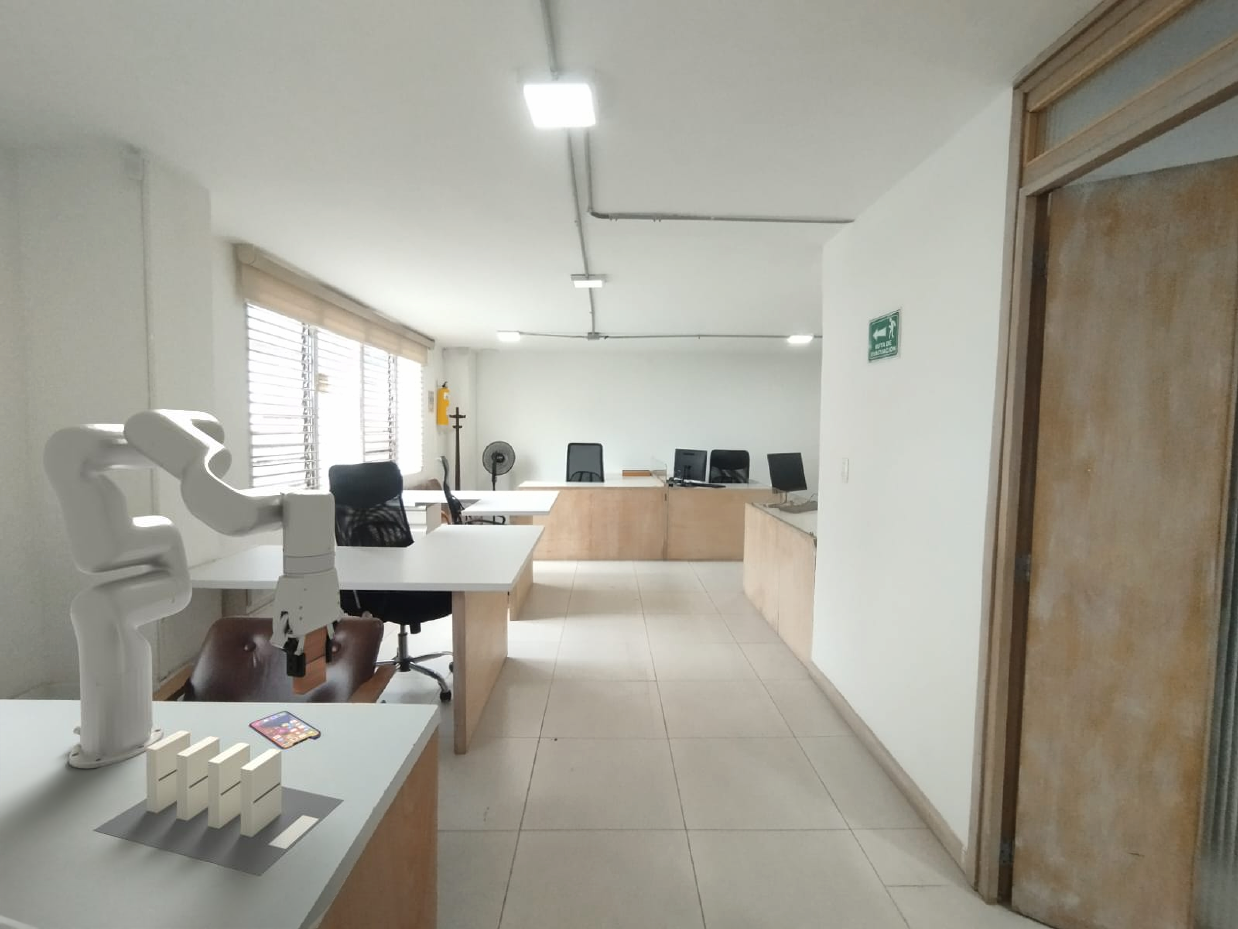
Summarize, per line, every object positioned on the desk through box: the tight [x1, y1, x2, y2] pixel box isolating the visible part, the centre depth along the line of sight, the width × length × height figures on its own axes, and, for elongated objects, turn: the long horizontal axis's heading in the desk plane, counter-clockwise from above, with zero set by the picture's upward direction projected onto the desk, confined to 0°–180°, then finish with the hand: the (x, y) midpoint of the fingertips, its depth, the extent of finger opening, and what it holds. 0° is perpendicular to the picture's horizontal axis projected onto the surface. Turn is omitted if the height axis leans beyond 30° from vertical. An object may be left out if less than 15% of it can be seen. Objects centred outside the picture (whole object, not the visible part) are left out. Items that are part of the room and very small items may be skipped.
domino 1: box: [145, 729, 191, 813], centre depth 82 cm, size 2×5×10 cm, turn 167°
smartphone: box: [248, 710, 322, 750], centre depth 103 cm, size 1×7×15 cm
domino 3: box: [208, 742, 251, 829], centre depth 79 cm, size 2×5×10 cm, turn 167°
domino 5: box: [292, 626, 327, 696], centre depth 88 cm, size 2×5×10 cm, turn 168°
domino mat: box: [92, 785, 345, 876], centre depth 80 cm, size 30×15×1 cm, turn 77°
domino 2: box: [177, 735, 221, 821], centre depth 81 cm, size 2×5×10 cm, turn 167°
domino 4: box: [241, 748, 282, 837], centre depth 78 cm, size 2×5×10 cm, turn 167°
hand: (309, 667), depth 88 cm, fingers closed on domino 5, 4 cm apart
